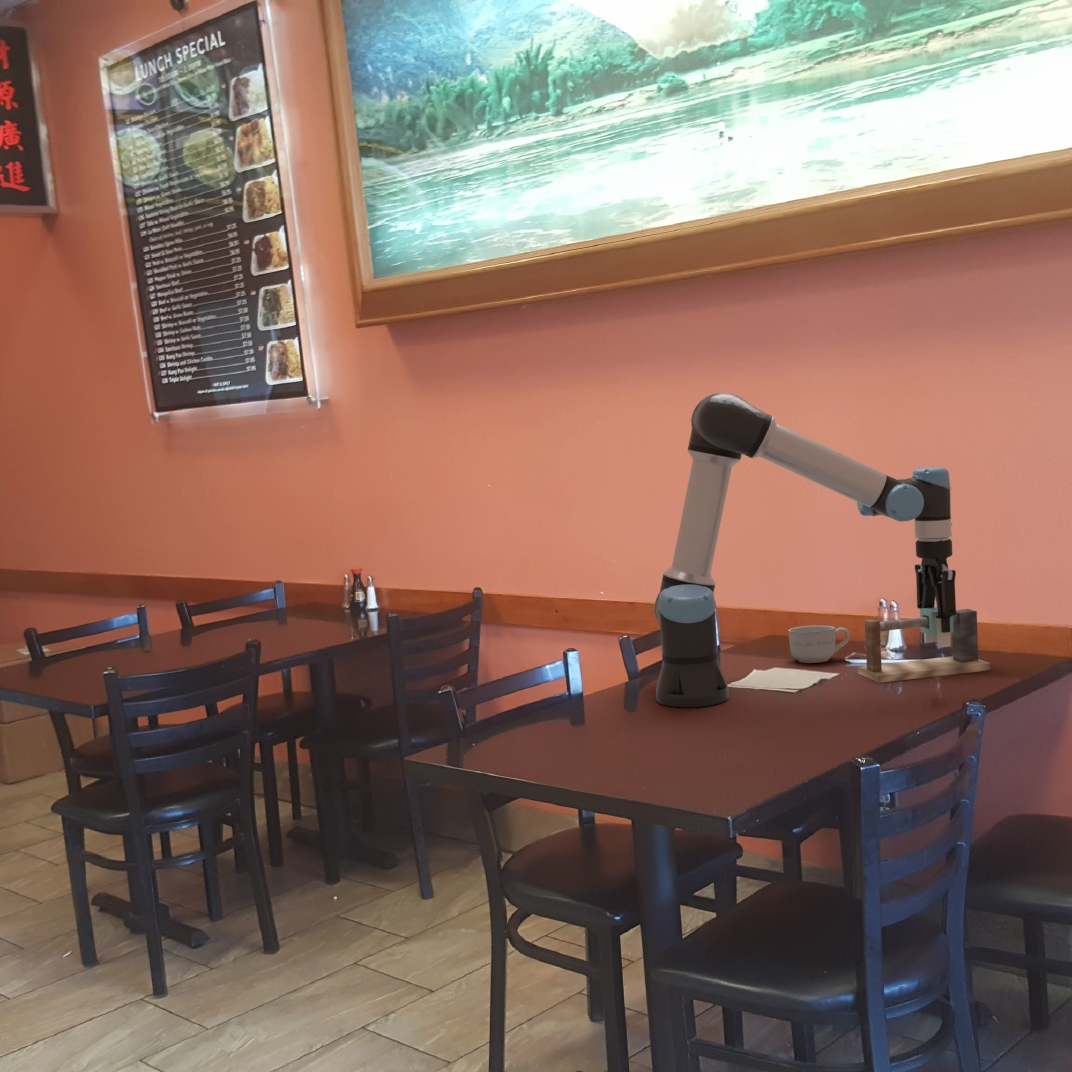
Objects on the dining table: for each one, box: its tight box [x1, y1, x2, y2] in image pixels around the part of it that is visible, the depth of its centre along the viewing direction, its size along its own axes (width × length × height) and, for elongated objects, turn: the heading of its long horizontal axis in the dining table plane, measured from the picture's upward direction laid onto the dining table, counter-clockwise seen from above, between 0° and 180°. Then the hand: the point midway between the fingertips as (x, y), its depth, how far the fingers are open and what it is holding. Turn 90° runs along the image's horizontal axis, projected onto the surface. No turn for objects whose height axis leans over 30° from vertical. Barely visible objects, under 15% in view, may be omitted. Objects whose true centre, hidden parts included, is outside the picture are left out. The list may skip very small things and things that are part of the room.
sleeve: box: [919, 606, 953, 635], centre depth 261 cm, size 5×5×5 cm
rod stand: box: [857, 608, 992, 683], centre depth 261 cm, size 26×10×12 cm, turn 100°
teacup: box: [787, 625, 851, 664], centre depth 279 cm, size 14×11×8 cm
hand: (937, 644), depth 262 cm, fingers closed on sleeve, 5 cm apart
